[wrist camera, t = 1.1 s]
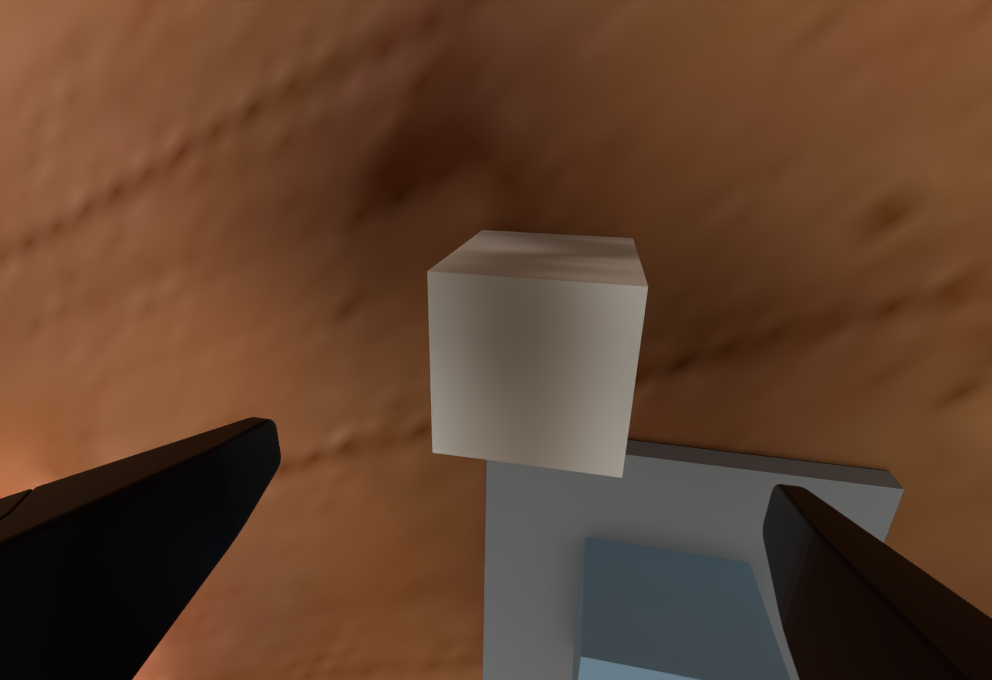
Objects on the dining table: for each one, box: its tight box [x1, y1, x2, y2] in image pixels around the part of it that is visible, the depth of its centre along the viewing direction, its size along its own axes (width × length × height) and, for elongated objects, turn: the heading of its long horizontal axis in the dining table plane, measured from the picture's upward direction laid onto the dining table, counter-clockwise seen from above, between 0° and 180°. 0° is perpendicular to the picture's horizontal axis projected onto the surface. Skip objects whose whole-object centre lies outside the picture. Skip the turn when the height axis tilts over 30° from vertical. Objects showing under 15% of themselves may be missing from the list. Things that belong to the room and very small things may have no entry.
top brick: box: [427, 230, 648, 478], centre depth 15 cm, size 5×5×6 cm
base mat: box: [483, 440, 904, 680], centre depth 21 cm, size 14×14×1 cm
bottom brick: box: [572, 538, 790, 680], centre depth 18 cm, size 6×6×5 cm
